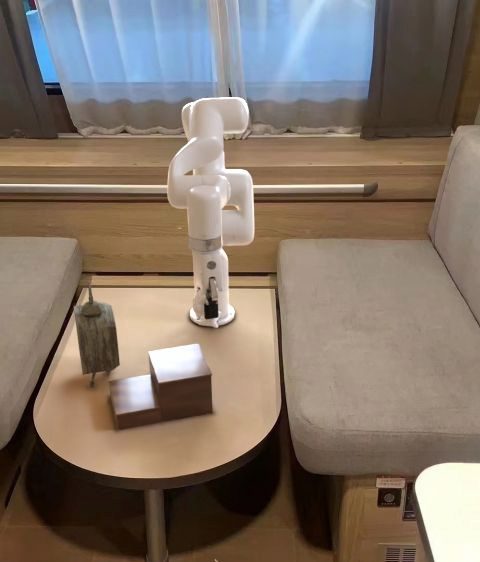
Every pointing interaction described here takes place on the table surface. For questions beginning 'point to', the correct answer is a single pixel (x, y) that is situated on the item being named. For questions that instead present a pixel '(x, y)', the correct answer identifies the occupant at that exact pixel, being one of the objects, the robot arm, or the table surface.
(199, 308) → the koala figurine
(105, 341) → the spike-topped wooden block
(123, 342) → the table surface
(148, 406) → the step shelf
